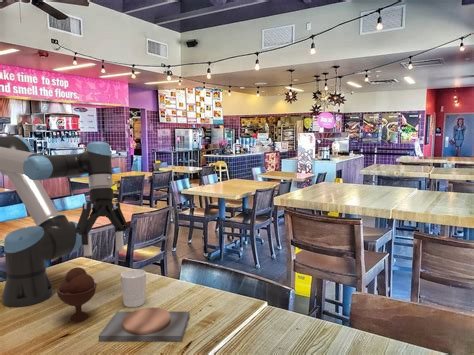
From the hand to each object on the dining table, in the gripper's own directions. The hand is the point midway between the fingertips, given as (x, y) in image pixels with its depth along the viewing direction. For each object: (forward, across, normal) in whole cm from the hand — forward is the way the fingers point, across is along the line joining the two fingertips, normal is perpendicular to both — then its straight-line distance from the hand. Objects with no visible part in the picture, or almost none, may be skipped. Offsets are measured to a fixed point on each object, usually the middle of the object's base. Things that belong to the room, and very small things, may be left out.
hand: (104, 253), depth 121 cm
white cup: (+17, +6, -6) cm, 19 cm away
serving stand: (+21, -5, -20) cm, 30 cm away
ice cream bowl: (+18, -9, +3) cm, 20 cm away
